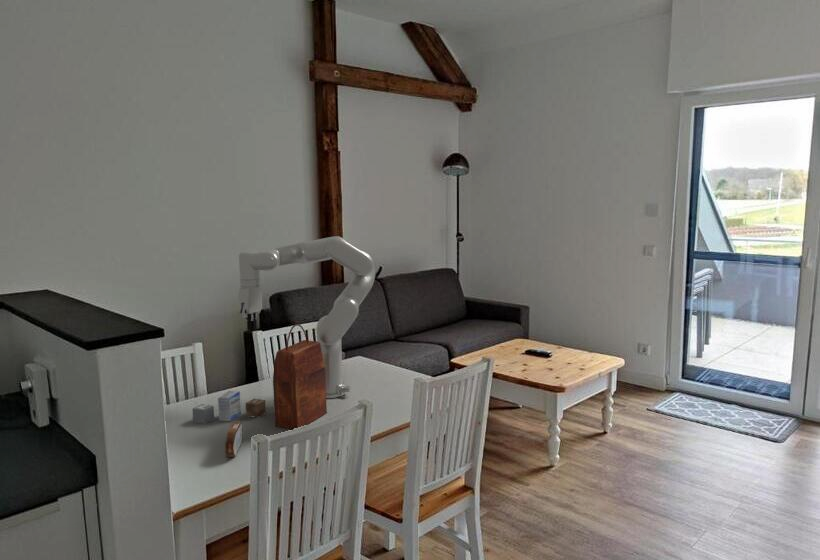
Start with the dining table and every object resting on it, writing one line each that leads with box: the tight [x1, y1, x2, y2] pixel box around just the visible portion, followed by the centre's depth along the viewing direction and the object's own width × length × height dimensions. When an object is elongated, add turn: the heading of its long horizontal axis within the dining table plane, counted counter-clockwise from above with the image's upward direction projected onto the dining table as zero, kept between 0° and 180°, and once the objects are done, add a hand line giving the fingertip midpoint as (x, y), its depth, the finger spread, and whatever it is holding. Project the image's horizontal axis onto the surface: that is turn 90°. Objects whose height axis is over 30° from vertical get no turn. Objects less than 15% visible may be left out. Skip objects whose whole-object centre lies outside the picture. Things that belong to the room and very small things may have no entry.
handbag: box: [272, 323, 328, 430], centre depth 206 cm, size 10×19×35 cm, turn 155°
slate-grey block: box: [192, 403, 215, 425], centre depth 208 cm, size 5×5×5 cm
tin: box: [224, 420, 244, 458], centre depth 182 cm, size 15×3×8 cm, turn 5°
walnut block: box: [245, 398, 267, 418], centre depth 213 cm, size 5×5×5 cm
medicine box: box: [217, 390, 242, 422], centre depth 210 cm, size 8×4×9 cm, turn 168°
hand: (252, 330), depth 228 cm, fingers closed
